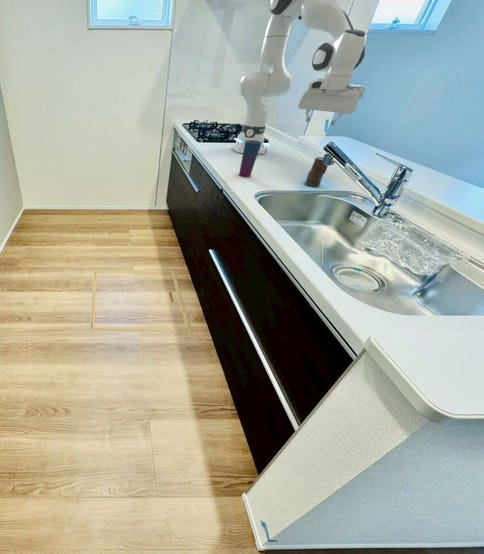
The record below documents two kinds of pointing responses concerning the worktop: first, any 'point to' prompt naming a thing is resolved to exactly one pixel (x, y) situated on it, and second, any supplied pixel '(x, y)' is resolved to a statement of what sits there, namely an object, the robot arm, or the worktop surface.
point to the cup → (249, 157)
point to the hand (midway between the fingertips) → (319, 123)
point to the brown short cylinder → (319, 162)
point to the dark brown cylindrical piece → (315, 176)
